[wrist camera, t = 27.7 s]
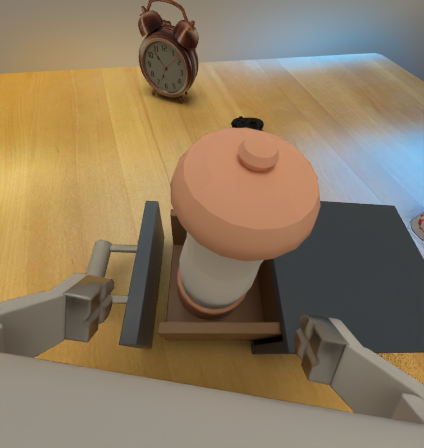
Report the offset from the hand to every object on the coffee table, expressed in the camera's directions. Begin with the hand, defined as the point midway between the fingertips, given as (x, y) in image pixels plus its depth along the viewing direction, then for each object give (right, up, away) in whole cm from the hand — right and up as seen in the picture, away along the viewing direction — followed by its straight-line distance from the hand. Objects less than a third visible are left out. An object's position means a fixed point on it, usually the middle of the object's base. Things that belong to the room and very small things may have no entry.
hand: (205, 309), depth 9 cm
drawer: (-3, -4, +16) cm, 16 cm away
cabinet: (+12, -5, +18) cm, 22 cm away
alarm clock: (-9, +31, +38) cm, 49 cm away
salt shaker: (0, -3, +15) cm, 16 cm away
